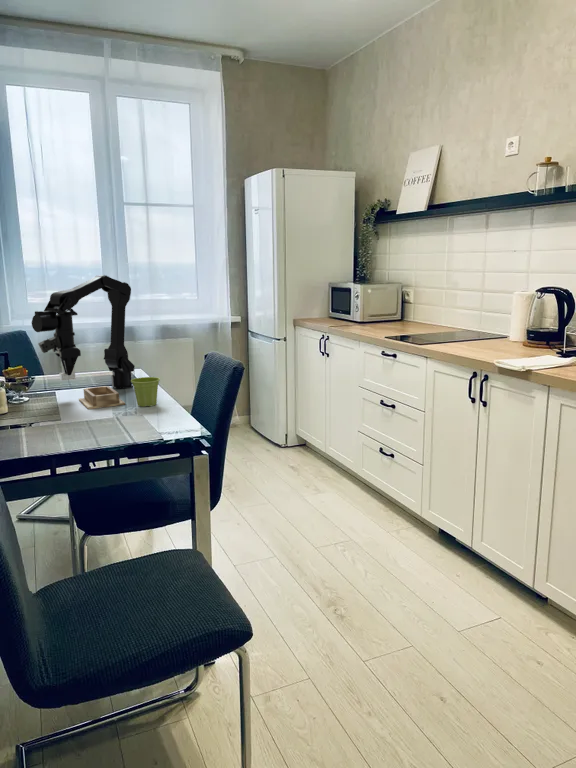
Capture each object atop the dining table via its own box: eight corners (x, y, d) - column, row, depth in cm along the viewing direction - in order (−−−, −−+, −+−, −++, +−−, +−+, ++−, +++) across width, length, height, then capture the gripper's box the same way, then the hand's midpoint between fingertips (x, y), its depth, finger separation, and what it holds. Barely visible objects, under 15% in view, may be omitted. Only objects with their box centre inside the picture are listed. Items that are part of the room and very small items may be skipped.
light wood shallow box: (113, 396, 209) (113, 385, 208) (125, 404, 196) (124, 392, 196) (78, 400, 203) (78, 389, 202) (88, 409, 190) (87, 397, 190)
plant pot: (126, 406, 194) (124, 380, 192) (145, 400, 202) (144, 375, 200) (148, 409, 189) (146, 383, 188) (167, 403, 197) (165, 378, 196)
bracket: (73, 377, 207) (71, 357, 205) (75, 379, 203) (73, 359, 202) (59, 378, 204) (58, 358, 203) (61, 380, 201) (60, 360, 200)
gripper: (35, 328, 204) (39, 372, 208) (43, 333, 189) (47, 381, 192) (68, 326, 210) (72, 369, 213) (79, 331, 194) (82, 377, 197)
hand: (68, 374), depth 204 cm, fingers closed on bracket, 4 cm apart
